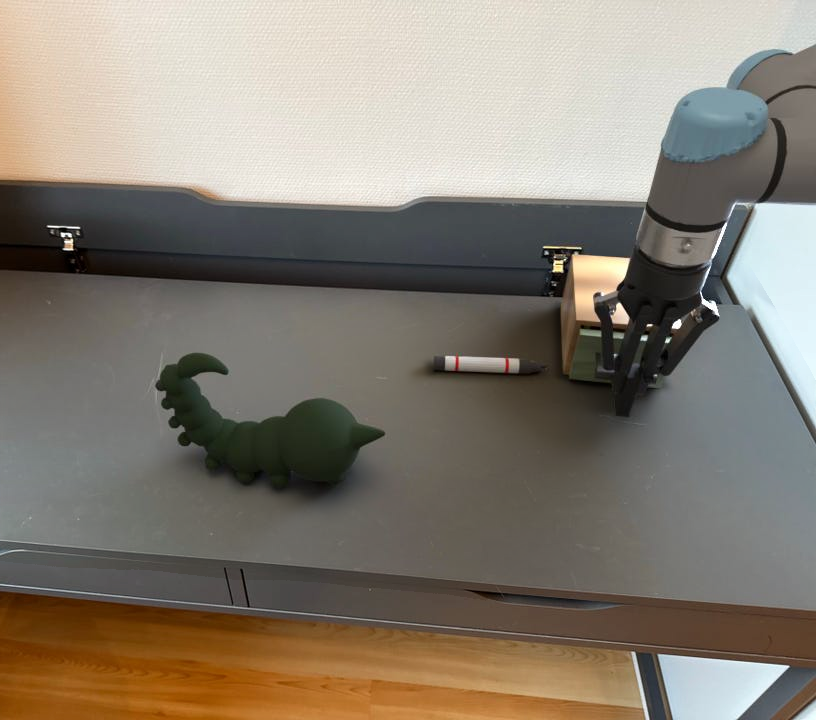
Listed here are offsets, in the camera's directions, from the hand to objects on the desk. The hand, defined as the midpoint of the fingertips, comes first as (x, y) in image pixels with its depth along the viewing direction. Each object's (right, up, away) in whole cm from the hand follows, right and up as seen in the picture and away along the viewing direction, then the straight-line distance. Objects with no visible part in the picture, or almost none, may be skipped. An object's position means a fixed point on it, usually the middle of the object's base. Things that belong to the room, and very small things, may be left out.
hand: (621, 408), depth 87 cm
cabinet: (+3, +8, +12) cm, 15 cm away
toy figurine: (-42, -7, -1) cm, 43 cm away
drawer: (+2, +6, +8) cm, 10 cm away
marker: (-14, +4, +9) cm, 18 cm away
